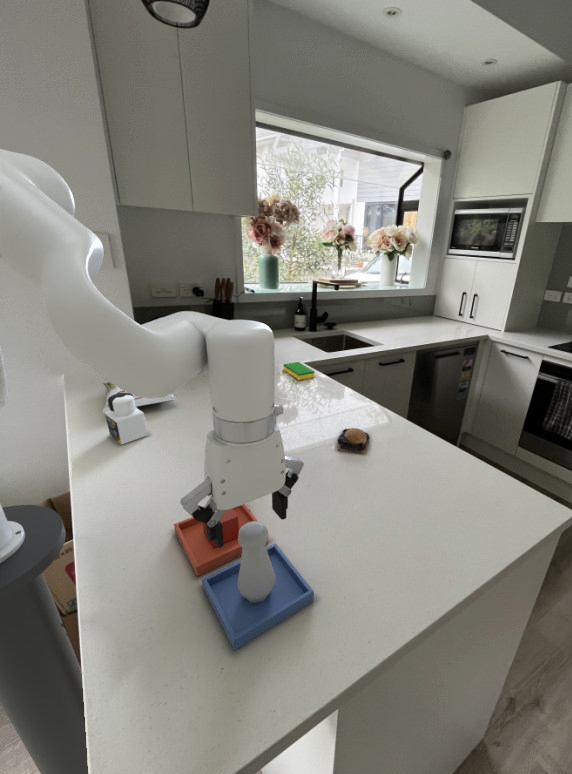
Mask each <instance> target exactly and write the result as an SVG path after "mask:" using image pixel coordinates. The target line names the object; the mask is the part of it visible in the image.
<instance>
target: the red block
mask: <svg viewBox="0 0 572 774" xmlns="http://www.w3.org/2000/svg"><path fill="white" fill-rule="evenodd" d="M215 508H216V507H215ZM215 508H214V509H213V511H214V510H215ZM219 521H220V522H221V524H222V530H223V542H224V544H226V543H228V542H230V541H232V540H235V539H237V538H238V534H239V524H238V516H237V515H236V513H235V512H234V510H233V509H228V510H226V511H225V512H224V514H223V515H222V517H221V518H220V520H219ZM202 524H203V531H204V534H205V535H206V537H207V539H208V536H207V532H206V523H203V522H202ZM208 540H209V539H208ZM209 542H210V540H209ZM210 544H211V546H212V547H213V549H215V548H217V545H216V543H215V542H214V540H213V541H211V542H210Z"/></svg>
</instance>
